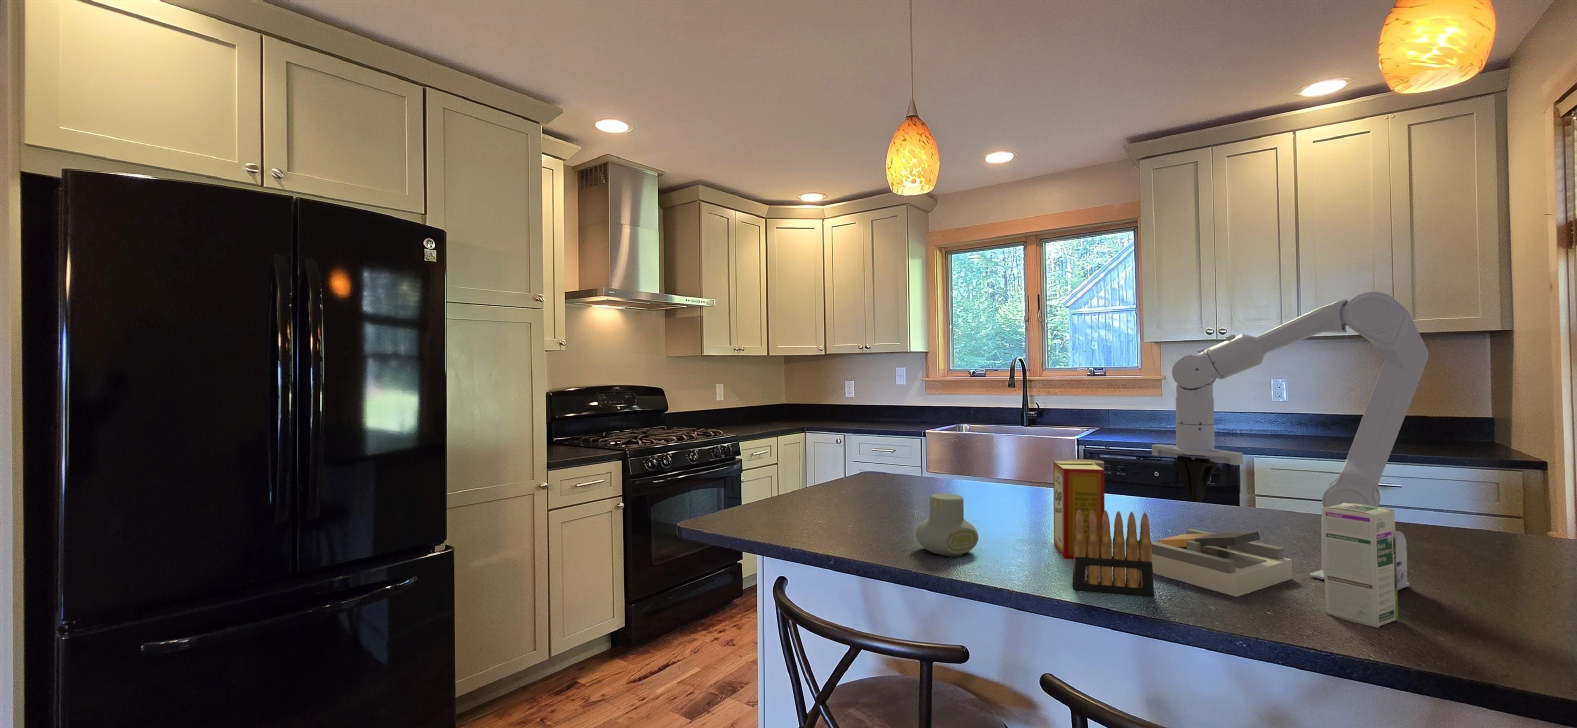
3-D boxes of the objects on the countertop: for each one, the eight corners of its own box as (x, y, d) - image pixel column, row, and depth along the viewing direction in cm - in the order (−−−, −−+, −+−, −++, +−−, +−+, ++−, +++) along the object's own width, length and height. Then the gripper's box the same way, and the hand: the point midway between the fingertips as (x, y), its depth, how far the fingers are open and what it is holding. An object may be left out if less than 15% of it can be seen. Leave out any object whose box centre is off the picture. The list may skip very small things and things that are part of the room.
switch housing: (1292, 578, 101) (1291, 543, 101) (1236, 596, 93) (1236, 558, 93) (1186, 553, 115) (1186, 522, 115) (1131, 566, 107) (1130, 533, 107)
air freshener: (956, 542, 122) (956, 489, 123) (986, 554, 115) (986, 497, 115) (908, 549, 118) (908, 494, 118) (935, 561, 111) (935, 503, 111)
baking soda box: (1104, 561, 110) (1104, 467, 110) (1064, 558, 112) (1063, 466, 112) (1091, 546, 120) (1090, 459, 120) (1053, 544, 121) (1053, 458, 121)
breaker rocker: (1260, 539, 100) (1258, 531, 101) (1235, 545, 97) (1233, 537, 97) (1184, 541, 111) (1182, 534, 111) (1160, 547, 107) (1158, 539, 108)
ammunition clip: (1151, 593, 95) (1150, 511, 95) (1154, 597, 93) (1153, 514, 93) (1072, 586, 98) (1071, 507, 98) (1074, 590, 96) (1073, 509, 96)
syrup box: (1378, 628, 81) (1377, 513, 81) (1322, 613, 87) (1321, 504, 87) (1399, 620, 84) (1397, 508, 84) (1343, 605, 89) (1342, 500, 89)
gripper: (1141, 421, 119) (1142, 495, 119) (1226, 428, 106) (1227, 510, 106) (1164, 420, 122) (1165, 492, 122) (1249, 426, 110) (1250, 506, 109)
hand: (1195, 500), depth 114 cm, fingers closed
